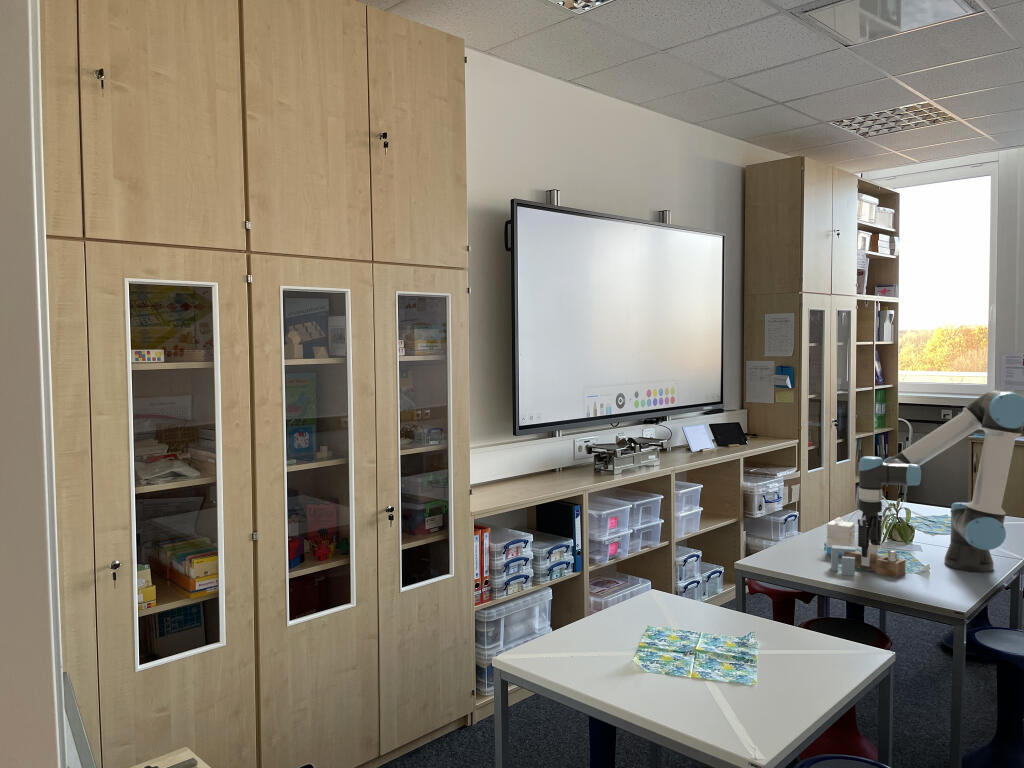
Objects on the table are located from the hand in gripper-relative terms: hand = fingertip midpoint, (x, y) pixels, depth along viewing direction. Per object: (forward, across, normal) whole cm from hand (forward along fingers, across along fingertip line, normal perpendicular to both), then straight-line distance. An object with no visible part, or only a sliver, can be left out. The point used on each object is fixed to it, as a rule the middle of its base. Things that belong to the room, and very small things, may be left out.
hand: (869, 564), depth 265 cm
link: (+2, 0, +1) cm, 2 cm away
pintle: (+2, 0, +8) cm, 8 cm away
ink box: (+2, -12, -17) cm, 21 cm away
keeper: (+2, +10, -4) cm, 11 cm away
